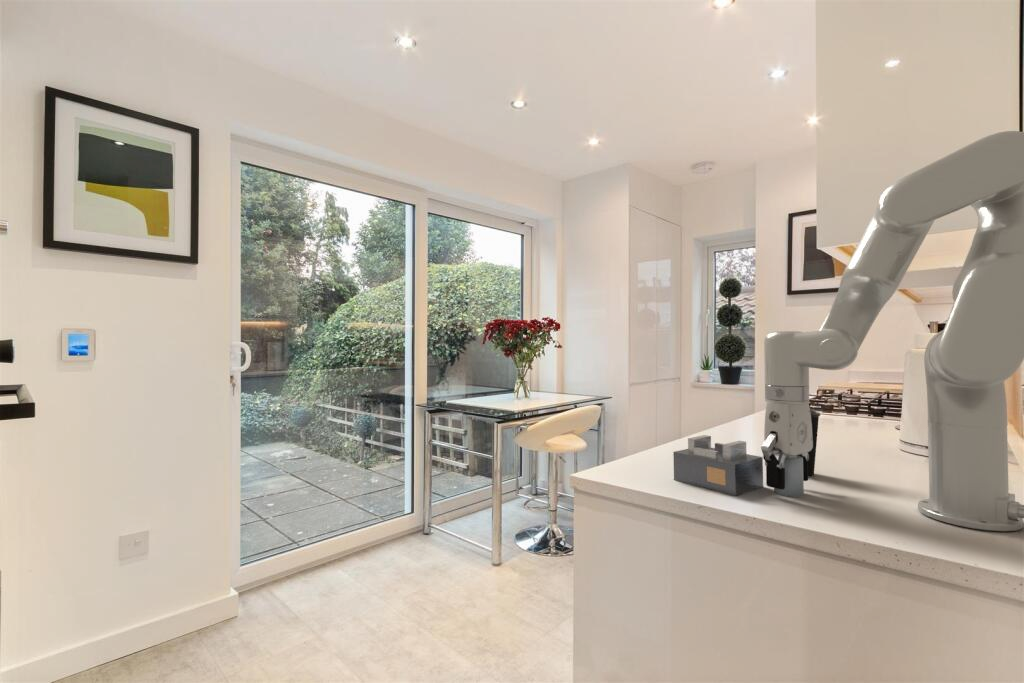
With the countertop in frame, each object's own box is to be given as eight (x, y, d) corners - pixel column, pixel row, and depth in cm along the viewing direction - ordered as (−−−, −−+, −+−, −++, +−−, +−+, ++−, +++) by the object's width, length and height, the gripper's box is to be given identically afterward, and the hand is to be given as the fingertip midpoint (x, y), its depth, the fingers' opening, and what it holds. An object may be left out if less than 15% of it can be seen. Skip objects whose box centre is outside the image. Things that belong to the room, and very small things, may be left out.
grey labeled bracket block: (763, 486, 98) (762, 442, 98) (735, 496, 92) (734, 448, 92) (701, 472, 109) (701, 432, 109) (673, 479, 104) (673, 437, 104)
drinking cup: (810, 469, 110) (808, 382, 111) (828, 478, 103) (826, 385, 103) (775, 469, 111) (773, 382, 111) (791, 478, 104) (789, 385, 104)
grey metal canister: (808, 493, 93) (807, 452, 93) (796, 498, 90) (795, 455, 90) (782, 487, 97) (781, 447, 97) (769, 492, 94) (768, 451, 94)
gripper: (784, 399, 86) (785, 496, 86) (827, 393, 96) (828, 480, 96) (743, 396, 92) (744, 486, 92) (788, 390, 102) (789, 472, 102)
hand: (787, 483), depth 94 cm, fingers open, 8 cm apart
